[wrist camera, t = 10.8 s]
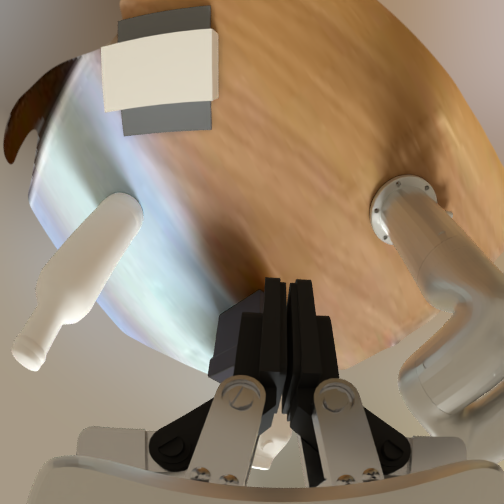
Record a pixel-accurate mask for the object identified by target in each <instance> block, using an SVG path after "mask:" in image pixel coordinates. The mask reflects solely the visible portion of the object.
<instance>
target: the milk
mask: <svg viewBox="0 0 504 504" xmlns="http://www.w3.org/2000/svg"><path fill="white" fill-rule="evenodd" d="M281 409H282V396H281V400H280V404H279V408H278V412H277V414H274V417H273V421H272V426H271V427H270V428H269V429H267V430H266V431H265V432H264V433H262V434H261V435H260V437H259V441H258V445H257V449H256V453H255V457H254V460H253V464H252V468H257V469H262V470H267V469H269V468H270V466H271V463H272V460H273V458H274V457H275V456H276V455H277V454H278V453H279V452H280V450H281V449H282V448H283V447H284V446H285V445H286V444H287V442H288V441H289V439H290V437H291V434H292V429H291V428H290V421H287V414H282V412H281Z"/></svg>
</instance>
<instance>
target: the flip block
mask: <svg viewBox="0 0 504 504" xmlns="http://www.w3.org/2000/svg"><path fill="white" fill-rule="evenodd" d="M101 64H102V83H103V97H104V108H105V112H111V111H117V110H123V109H129V108H136V107H143V106H151V105H160V104H170V103H182V102H196V101H213V100H215V99H217V98H219V89H218V34H217V33H216V32H215V31H214V30H213V29H200V30H189V31H181V32H173V33H166V34H160V35H154V36H148V37H143V38H138V39H133V40H129V41H125V42H120V43H116V44H112V45H108V46H105V47H101Z"/></svg>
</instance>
